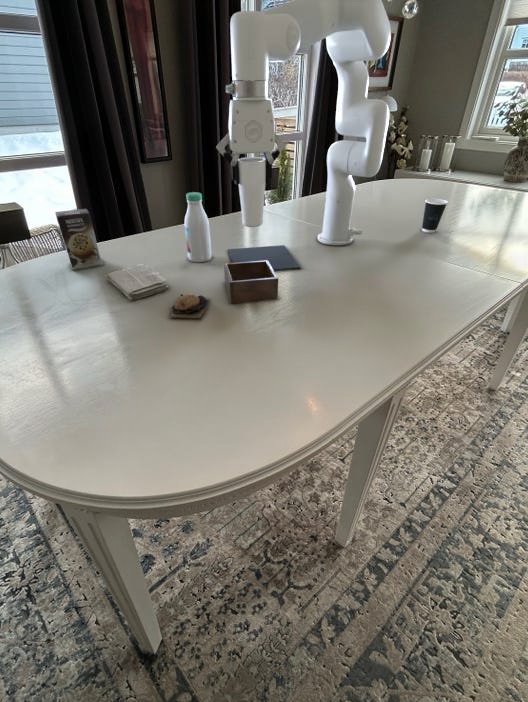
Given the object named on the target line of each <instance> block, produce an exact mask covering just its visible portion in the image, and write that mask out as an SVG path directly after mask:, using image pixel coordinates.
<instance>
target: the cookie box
mask: <svg viewBox="0 0 528 702" xmlns="http://www.w3.org/2000/svg"><path fill="white" fill-rule="evenodd" d="M54 214H55V217H56V220H57V225H58V228H59V230H60V234H61V237H62V240H63V244H64V247H65V250H66V255H67V257H68V259H69V263H70V267H71V270H72V271H76V270H83V269H89V268H93V267H98V266H103V262H102V258H101V255H100V250H99V246H98V243H97V239H96V234H95V230H94V226H93V222H92V219H91V214H90V212H89V210H88V209H87V208H79V209H70V210H62V211H61V210H60V211H55V212H54Z"/></svg>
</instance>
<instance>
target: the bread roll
mask: <svg viewBox="0 0 528 702" xmlns="http://www.w3.org/2000/svg"><path fill="white" fill-rule="evenodd" d="M207 305H208V298H207V297H206V296H204V295H197V296H196V295H195V294H183V293H181V294H180V296H179V297H178V298H177V299H176V301H175V304H173V305H172V306H171V314H170V318H173V319H174V318H176V319H177V318H180V319H199V320H200V319H201V317H202V315H203V314H204V313H205V311H206V309H207Z"/></svg>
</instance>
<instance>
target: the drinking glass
mask: <svg viewBox="0 0 528 702" xmlns="http://www.w3.org/2000/svg"><path fill="white" fill-rule="evenodd" d="M237 166H238V167H239V184H238V193H239V202H240V211H241V223H242V225H243V226H245V227H247V228H259V227H261V226H262V225H263V223H264V207H265V192H266V183H267V182H266V158H265V157H259V156H258V157H257V156H246V157H239V158H238V161H237Z"/></svg>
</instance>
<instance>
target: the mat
mask: <svg viewBox="0 0 528 702" xmlns="http://www.w3.org/2000/svg"><path fill="white" fill-rule="evenodd" d="M227 252H228V255H229V257H230V260H231V263H238V262H251V261H264V260H268V261H269V263H270V265H271V267H272V268H273V270H274V272H280V271H293V270H300V269H301V265H299V263H298V262H297V261H296V259H295V258H294V257H293V255H292V253H290V251H289V250H288V249H287V247H286V246H285V245H284V244H281V245H268V246H267V245H266V246H256V247H240V248H239V247H238V248H227Z"/></svg>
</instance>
